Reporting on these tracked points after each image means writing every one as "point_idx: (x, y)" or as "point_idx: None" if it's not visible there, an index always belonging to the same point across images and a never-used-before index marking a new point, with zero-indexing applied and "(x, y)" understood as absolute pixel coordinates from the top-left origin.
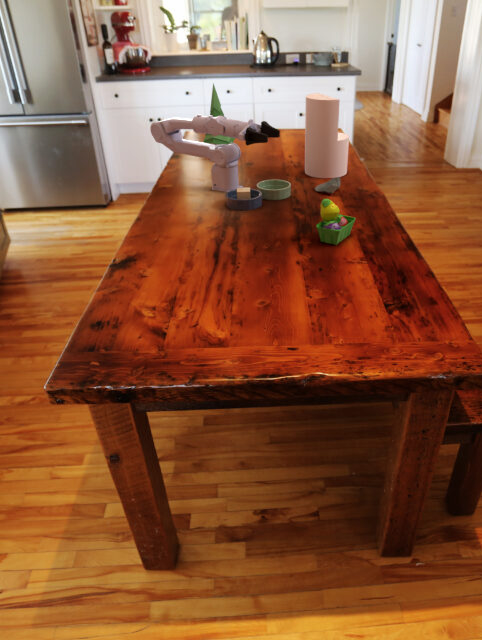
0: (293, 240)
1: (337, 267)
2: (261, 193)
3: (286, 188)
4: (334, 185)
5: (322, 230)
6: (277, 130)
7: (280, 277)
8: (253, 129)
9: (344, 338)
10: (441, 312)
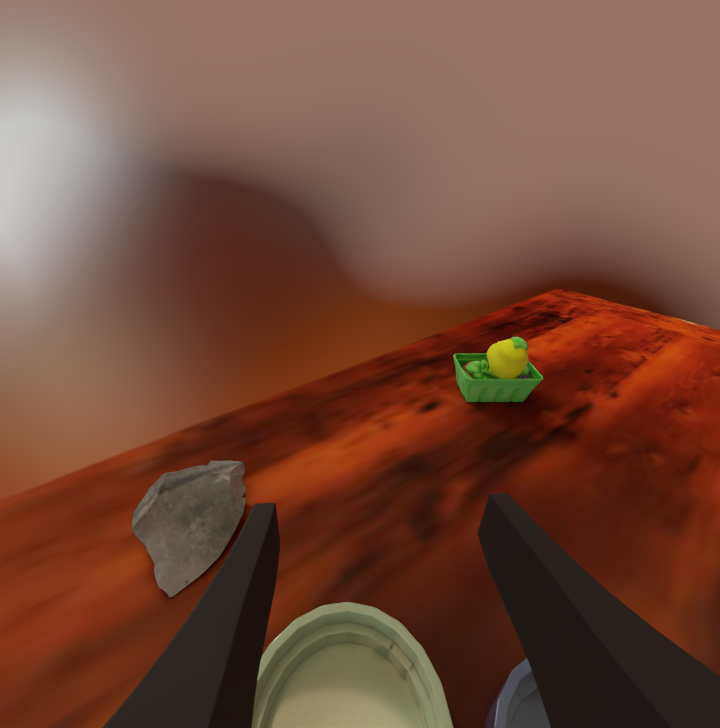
0: (572, 435)
1: (559, 362)
2: (511, 676)
3: (358, 604)
4: (229, 475)
5: (533, 376)
6: (271, 515)
7: (669, 392)
8: (649, 696)
9: (642, 325)
10: (526, 303)
